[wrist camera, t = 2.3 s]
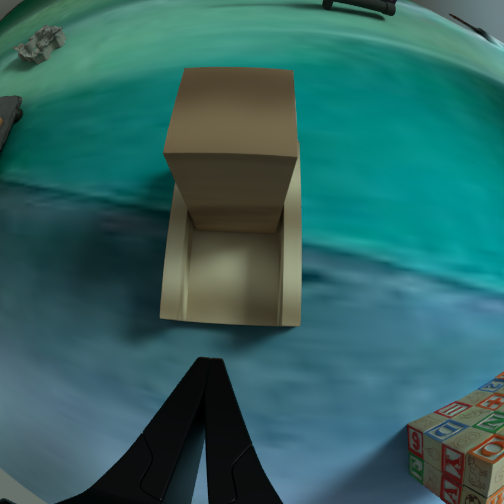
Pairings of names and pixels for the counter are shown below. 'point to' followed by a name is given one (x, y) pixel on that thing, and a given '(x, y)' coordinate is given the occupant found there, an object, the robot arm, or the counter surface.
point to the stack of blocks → (462, 448)
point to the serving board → (9, 115)
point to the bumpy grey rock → (41, 44)
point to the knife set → (367, 5)
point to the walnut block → (233, 146)
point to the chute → (234, 269)
